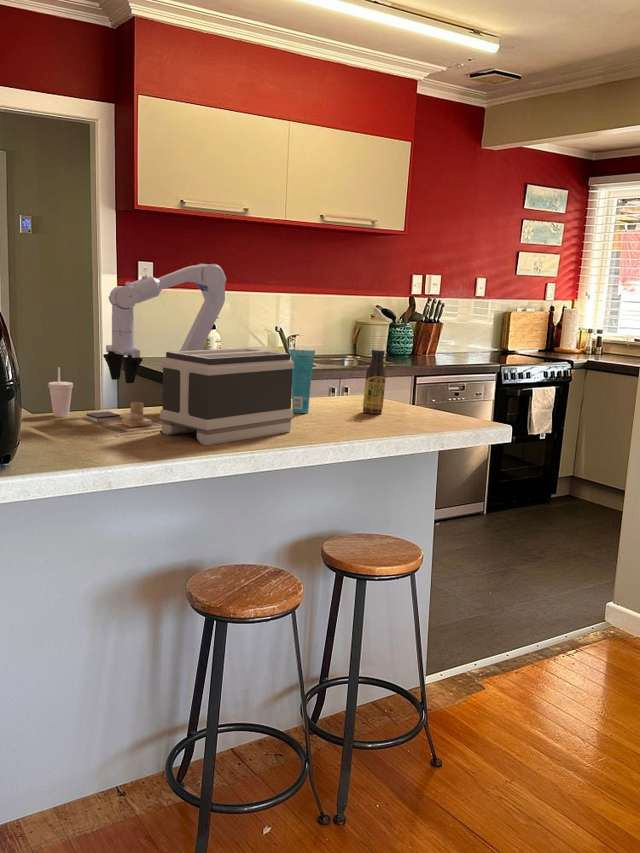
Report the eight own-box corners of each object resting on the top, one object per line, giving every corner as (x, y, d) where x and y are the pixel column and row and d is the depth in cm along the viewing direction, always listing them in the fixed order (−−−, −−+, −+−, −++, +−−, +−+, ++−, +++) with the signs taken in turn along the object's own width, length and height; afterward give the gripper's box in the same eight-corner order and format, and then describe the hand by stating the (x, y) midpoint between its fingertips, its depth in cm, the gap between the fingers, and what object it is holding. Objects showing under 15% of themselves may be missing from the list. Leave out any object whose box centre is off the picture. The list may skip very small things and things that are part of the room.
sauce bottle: (365, 414, 241) (369, 350, 237) (360, 411, 247) (363, 348, 243) (386, 414, 243) (390, 350, 239) (379, 411, 249) (383, 348, 245)
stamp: (142, 423, 207) (142, 400, 206) (151, 426, 204) (151, 403, 203) (122, 425, 203) (122, 402, 202) (131, 428, 200) (131, 405, 199)
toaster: (303, 430, 212) (306, 353, 208) (206, 447, 187) (208, 359, 183) (256, 420, 224) (258, 346, 220) (158, 434, 199) (159, 351, 195)
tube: (310, 411, 242) (313, 349, 239) (313, 414, 238) (316, 351, 234) (287, 410, 241) (289, 348, 237) (288, 413, 236) (291, 350, 233)
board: (135, 415, 222) (135, 412, 221) (179, 428, 206) (179, 425, 206) (77, 421, 210) (77, 417, 209) (120, 435, 194) (120, 432, 194)
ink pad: (109, 415, 215) (109, 410, 214) (122, 420, 210) (122, 415, 210) (83, 418, 210) (83, 413, 209) (96, 422, 205) (96, 417, 204)
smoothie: (43, 418, 211) (42, 366, 208) (61, 415, 216) (60, 365, 214) (61, 421, 208) (60, 369, 205) (78, 418, 213) (78, 367, 211)
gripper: (95, 329, 214) (96, 378, 216) (123, 333, 204) (123, 385, 206) (118, 329, 219) (118, 377, 221) (147, 333, 209) (146, 384, 211)
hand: (122, 381), depth 214 cm, fingers open, 7 cm apart
